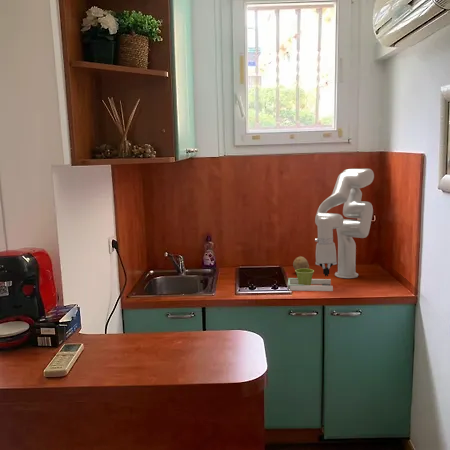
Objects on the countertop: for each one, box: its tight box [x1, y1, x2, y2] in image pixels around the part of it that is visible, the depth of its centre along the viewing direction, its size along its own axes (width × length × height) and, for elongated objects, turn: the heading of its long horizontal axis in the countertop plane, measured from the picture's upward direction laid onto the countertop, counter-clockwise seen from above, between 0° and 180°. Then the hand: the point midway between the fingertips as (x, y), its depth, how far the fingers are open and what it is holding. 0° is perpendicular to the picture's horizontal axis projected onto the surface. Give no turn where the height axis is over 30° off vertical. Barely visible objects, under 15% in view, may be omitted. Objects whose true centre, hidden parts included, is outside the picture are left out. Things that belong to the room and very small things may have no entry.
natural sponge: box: [292, 255, 310, 271], centre depth 265 cm, size 9×9×10 cm
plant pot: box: [294, 268, 315, 285], centre depth 238 cm, size 9×9×9 cm
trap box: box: [287, 277, 334, 292], centre depth 238 cm, size 13×22×3 cm, turn 82°
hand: (326, 275), depth 238 cm, fingers closed
